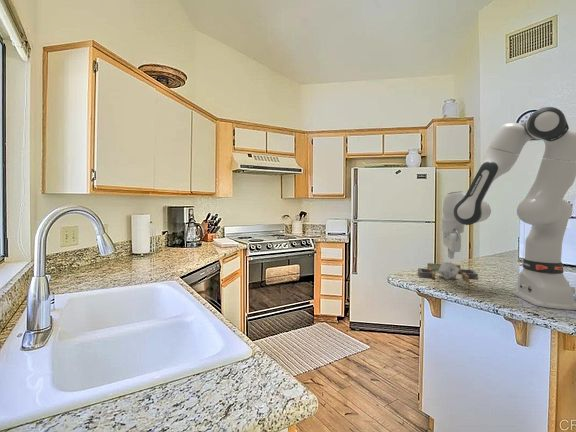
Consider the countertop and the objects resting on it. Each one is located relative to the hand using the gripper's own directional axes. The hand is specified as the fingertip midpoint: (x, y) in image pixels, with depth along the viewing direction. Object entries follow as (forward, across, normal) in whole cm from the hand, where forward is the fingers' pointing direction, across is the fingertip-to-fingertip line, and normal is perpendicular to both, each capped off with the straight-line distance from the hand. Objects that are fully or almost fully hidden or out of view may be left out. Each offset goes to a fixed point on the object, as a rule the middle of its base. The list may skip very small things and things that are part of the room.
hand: (450, 258), depth 143 cm
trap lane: (+12, +12, -1) cm, 17 cm away
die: (+12, +8, -1) cm, 14 cm away
